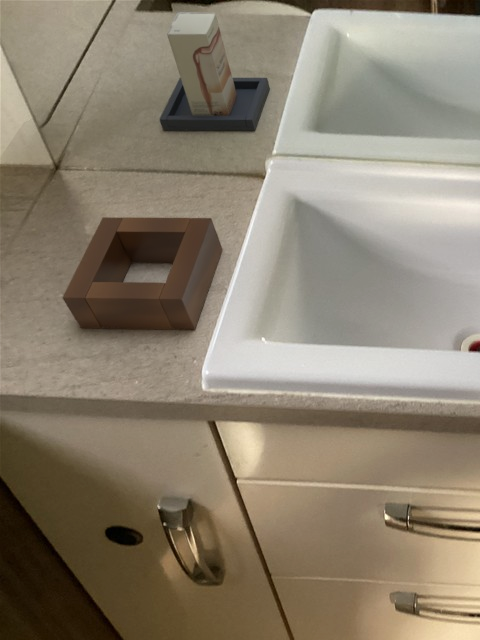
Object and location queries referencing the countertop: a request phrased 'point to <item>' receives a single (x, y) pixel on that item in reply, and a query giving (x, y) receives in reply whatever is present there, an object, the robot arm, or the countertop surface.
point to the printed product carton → (202, 63)
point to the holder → (140, 297)
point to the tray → (240, 118)
